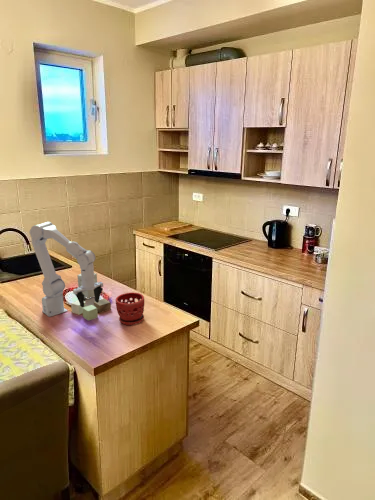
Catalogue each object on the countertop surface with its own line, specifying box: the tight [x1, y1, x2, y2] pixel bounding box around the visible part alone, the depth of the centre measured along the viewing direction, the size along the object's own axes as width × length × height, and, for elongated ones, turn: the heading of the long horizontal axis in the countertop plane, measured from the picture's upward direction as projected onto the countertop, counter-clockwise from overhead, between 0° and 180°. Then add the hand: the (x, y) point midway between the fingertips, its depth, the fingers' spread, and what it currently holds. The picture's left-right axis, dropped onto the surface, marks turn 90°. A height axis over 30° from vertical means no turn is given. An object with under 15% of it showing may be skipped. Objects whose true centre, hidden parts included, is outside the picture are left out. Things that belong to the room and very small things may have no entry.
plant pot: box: [115, 292, 145, 326], centre depth 168 cm, size 13×13×12 cm
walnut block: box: [93, 298, 112, 313], centre depth 181 cm, size 6×6×4 cm
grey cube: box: [70, 299, 87, 316], centre depth 178 cm, size 5×5×5 cm
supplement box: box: [76, 272, 98, 298], centre depth 195 cm, size 7×7×13 cm
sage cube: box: [82, 304, 99, 322], centre depth 172 cm, size 5×5×5 cm
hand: (89, 304), depth 171 cm, fingers open, 7 cm apart
